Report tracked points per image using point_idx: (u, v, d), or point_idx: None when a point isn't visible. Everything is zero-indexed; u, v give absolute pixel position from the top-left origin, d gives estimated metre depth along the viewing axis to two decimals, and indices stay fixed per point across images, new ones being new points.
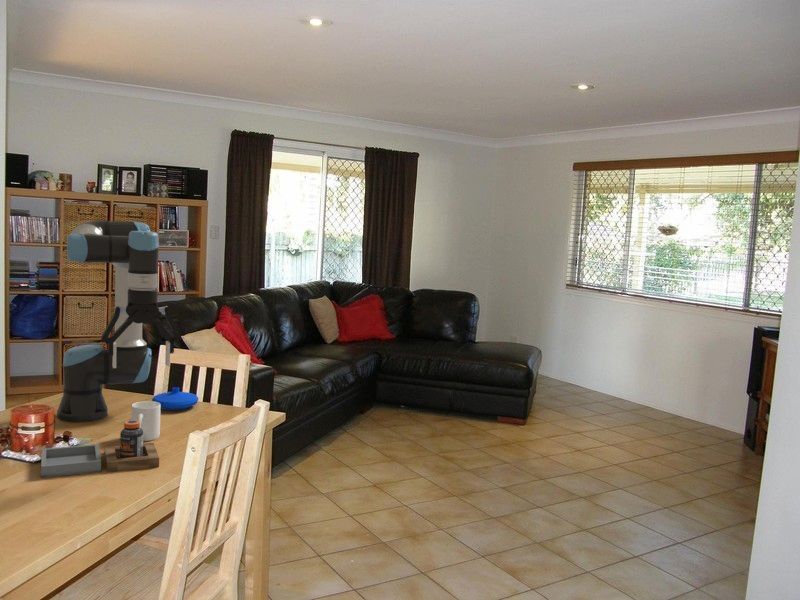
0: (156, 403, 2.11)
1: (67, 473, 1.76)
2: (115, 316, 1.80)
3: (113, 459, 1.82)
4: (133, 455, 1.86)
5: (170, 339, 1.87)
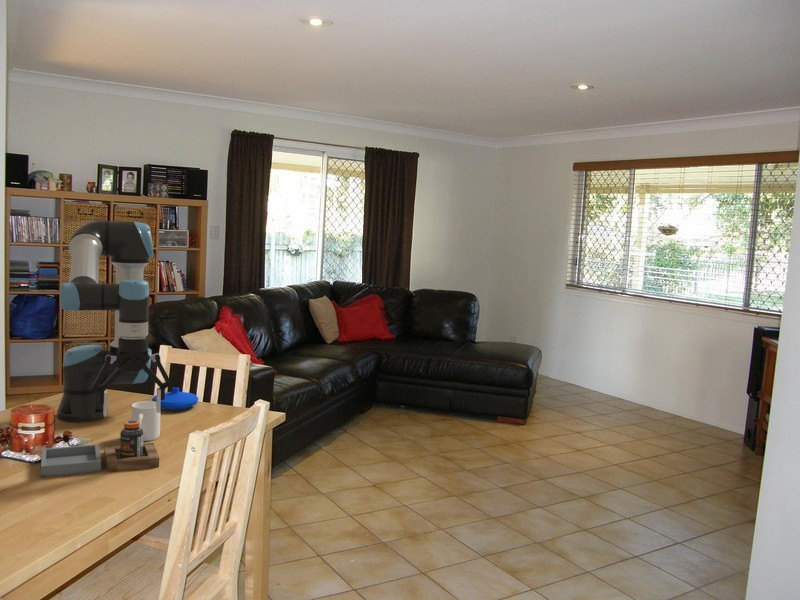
0: None
1: (67, 473, 1.76)
2: (106, 365, 1.81)
3: (113, 459, 1.82)
4: (133, 455, 1.86)
5: (161, 386, 1.88)
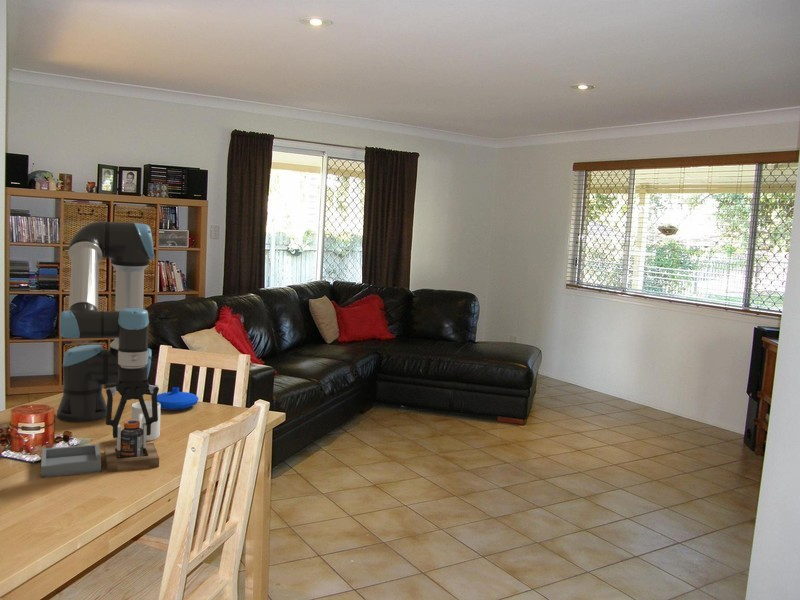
0: None
1: (67, 473, 1.76)
2: (109, 398, 1.83)
3: (113, 459, 1.82)
4: (133, 455, 1.86)
5: (147, 421, 1.88)
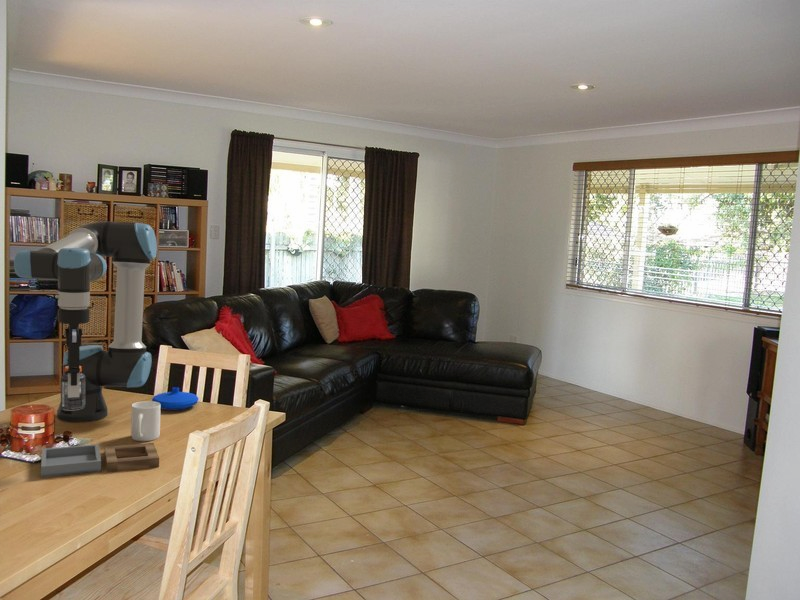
0: (156, 403, 2.11)
1: (67, 473, 1.76)
2: None
3: (113, 459, 1.82)
4: None
5: None
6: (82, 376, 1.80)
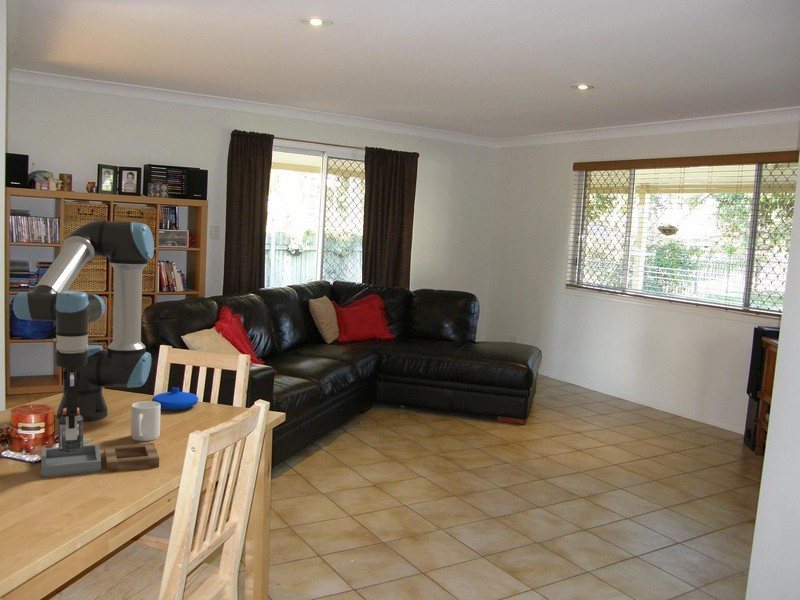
0: (156, 403, 2.11)
1: (67, 473, 1.76)
2: None
3: (113, 459, 1.82)
4: None
5: (66, 412, 1.77)
6: (80, 418, 1.81)
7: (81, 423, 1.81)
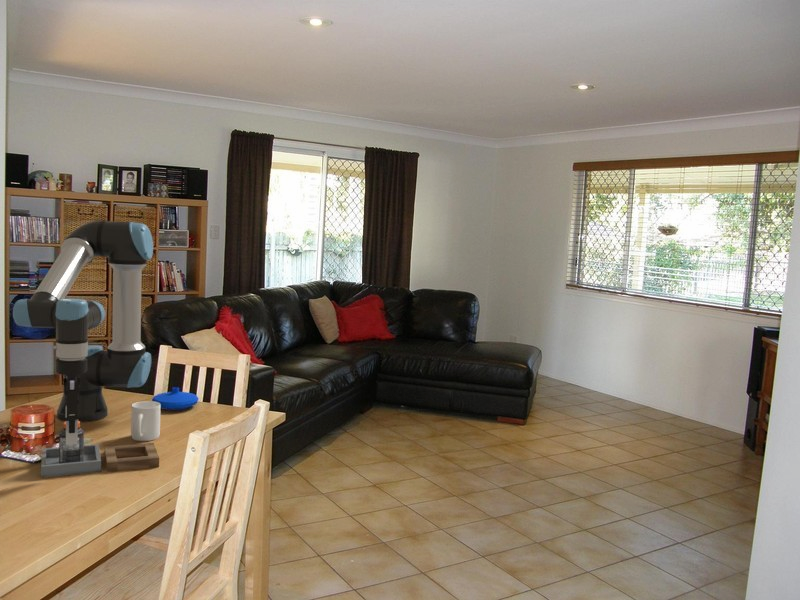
0: (156, 403, 2.11)
1: (67, 473, 1.76)
2: None
3: (113, 459, 1.82)
4: (59, 454, 1.80)
5: None
6: (80, 432, 1.81)
7: (82, 436, 1.81)
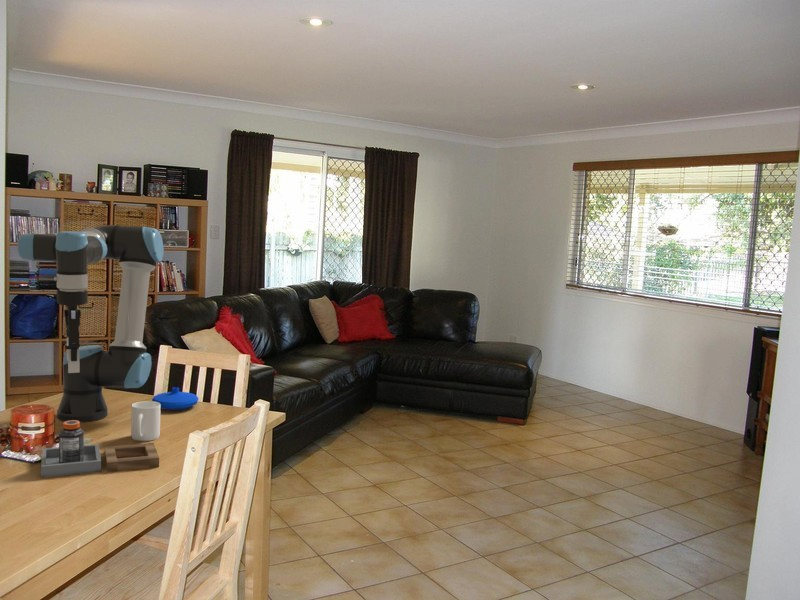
0: (156, 403, 2.11)
1: (67, 473, 1.76)
2: None
3: (113, 459, 1.82)
4: (59, 454, 1.80)
5: None
6: (80, 432, 1.81)
7: (81, 436, 1.81)
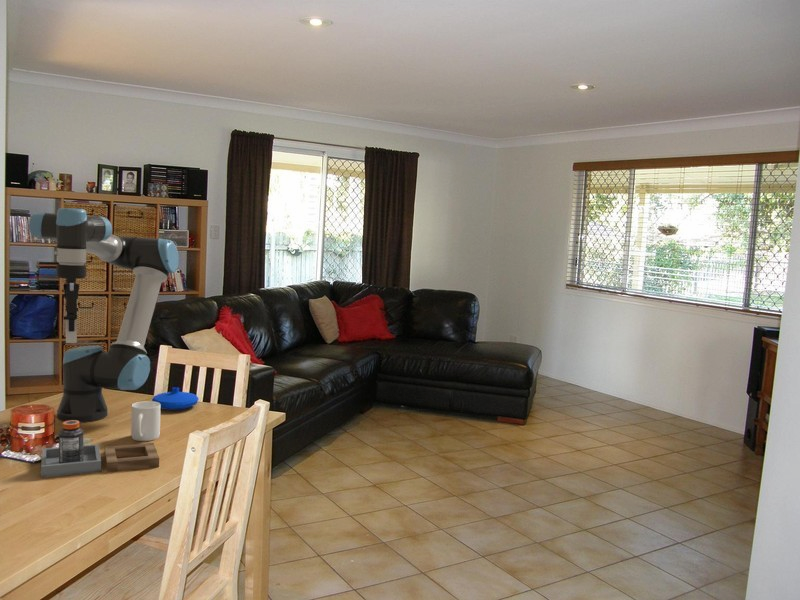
0: (156, 403, 2.11)
1: (67, 473, 1.76)
2: None
3: (113, 459, 1.82)
4: (59, 455, 1.80)
5: None
6: (80, 432, 1.81)
7: (81, 436, 1.81)
